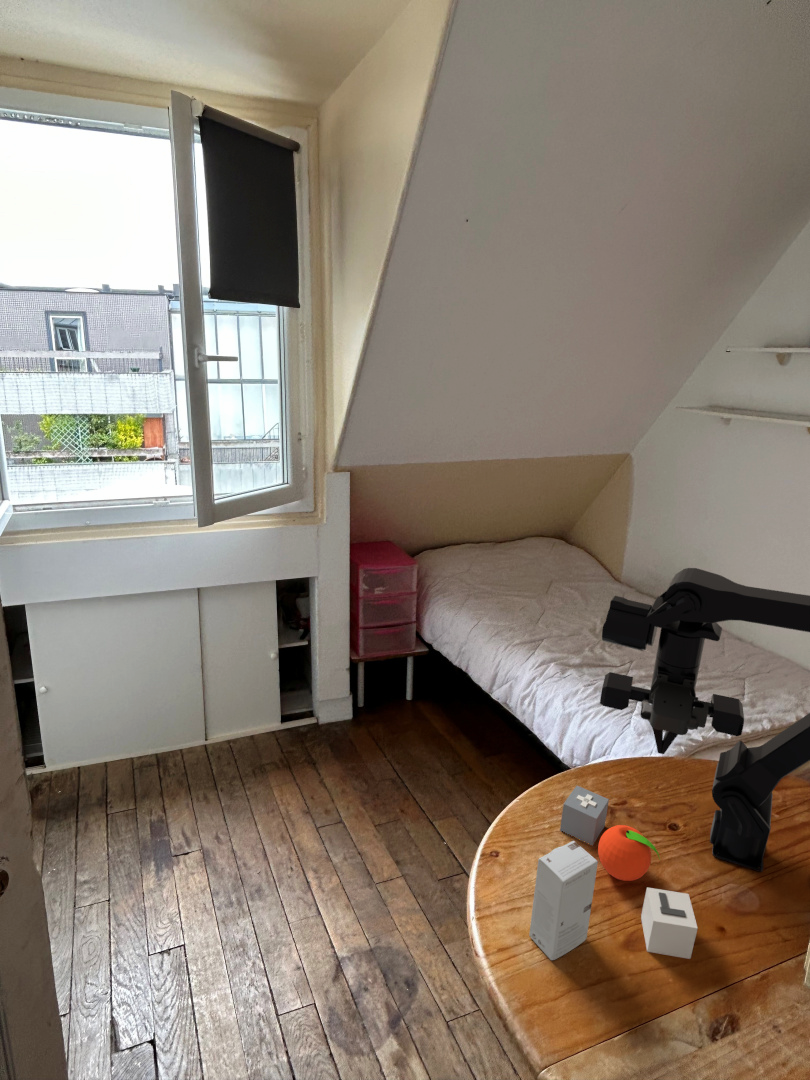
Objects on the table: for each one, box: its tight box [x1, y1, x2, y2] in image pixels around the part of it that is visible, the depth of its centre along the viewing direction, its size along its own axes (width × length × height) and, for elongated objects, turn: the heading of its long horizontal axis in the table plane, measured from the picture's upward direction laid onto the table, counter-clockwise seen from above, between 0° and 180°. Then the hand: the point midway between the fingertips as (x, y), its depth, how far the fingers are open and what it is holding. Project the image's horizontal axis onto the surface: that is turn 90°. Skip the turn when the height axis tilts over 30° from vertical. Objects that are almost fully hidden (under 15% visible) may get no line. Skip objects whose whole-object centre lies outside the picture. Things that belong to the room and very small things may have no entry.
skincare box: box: [529, 840, 599, 961], centre depth 82 cm, size 6×4×12 cm
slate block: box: [559, 785, 610, 847], centre depth 101 cm, size 5×5×5 cm
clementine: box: [597, 824, 661, 882], centre depth 93 cm, size 8×7×7 cm
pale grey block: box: [640, 887, 698, 960], centre depth 84 cm, size 5×5×5 cm
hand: (660, 752), depth 100 cm, fingers closed
